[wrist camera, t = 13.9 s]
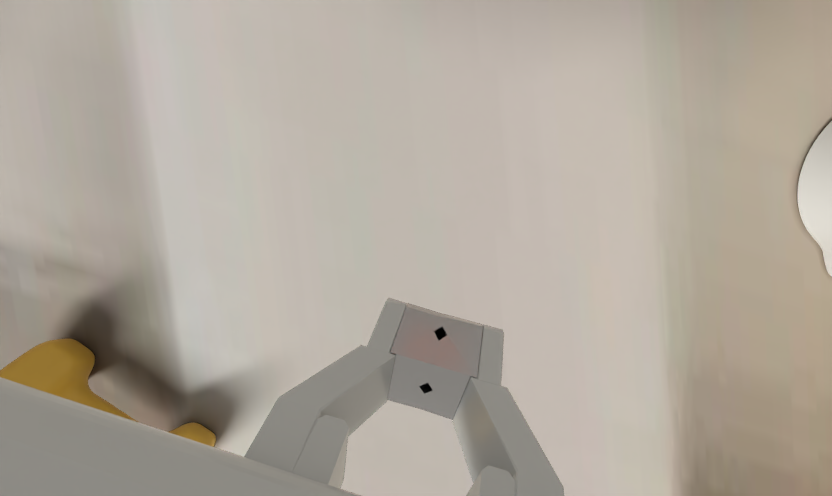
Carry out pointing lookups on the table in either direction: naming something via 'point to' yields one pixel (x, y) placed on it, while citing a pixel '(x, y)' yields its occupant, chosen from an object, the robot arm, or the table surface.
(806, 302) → the table surface
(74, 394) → the dumbbell
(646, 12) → the table surface
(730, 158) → the table surface
